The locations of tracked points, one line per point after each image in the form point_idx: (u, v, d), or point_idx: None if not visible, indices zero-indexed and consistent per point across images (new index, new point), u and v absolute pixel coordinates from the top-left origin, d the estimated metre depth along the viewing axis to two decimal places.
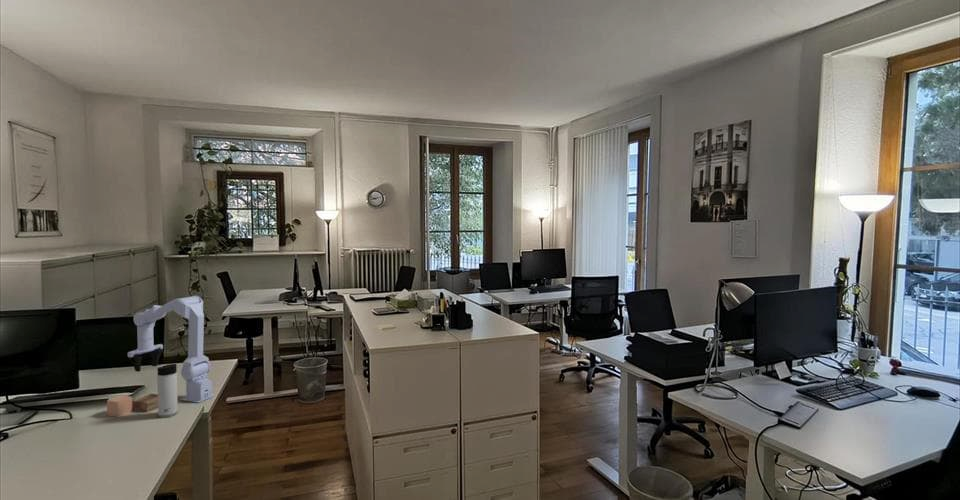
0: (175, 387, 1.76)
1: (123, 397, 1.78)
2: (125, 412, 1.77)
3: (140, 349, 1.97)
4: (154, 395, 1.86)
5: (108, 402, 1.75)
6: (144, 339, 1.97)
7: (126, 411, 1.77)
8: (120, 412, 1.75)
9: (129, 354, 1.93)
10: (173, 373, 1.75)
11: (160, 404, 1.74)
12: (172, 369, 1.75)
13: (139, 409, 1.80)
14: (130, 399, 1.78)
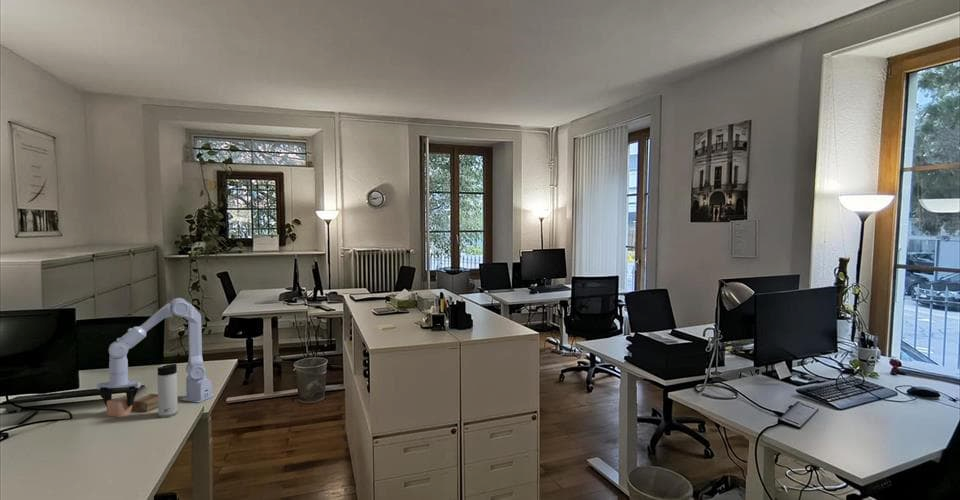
0: (175, 387, 1.76)
1: (123, 397, 1.78)
2: (125, 412, 1.77)
3: None
4: (154, 395, 1.86)
5: (108, 403, 1.75)
6: (125, 371, 1.76)
7: (126, 411, 1.77)
8: (120, 412, 1.75)
9: None
10: (173, 373, 1.75)
11: (160, 404, 1.74)
12: (172, 369, 1.75)
13: (139, 409, 1.80)
14: None
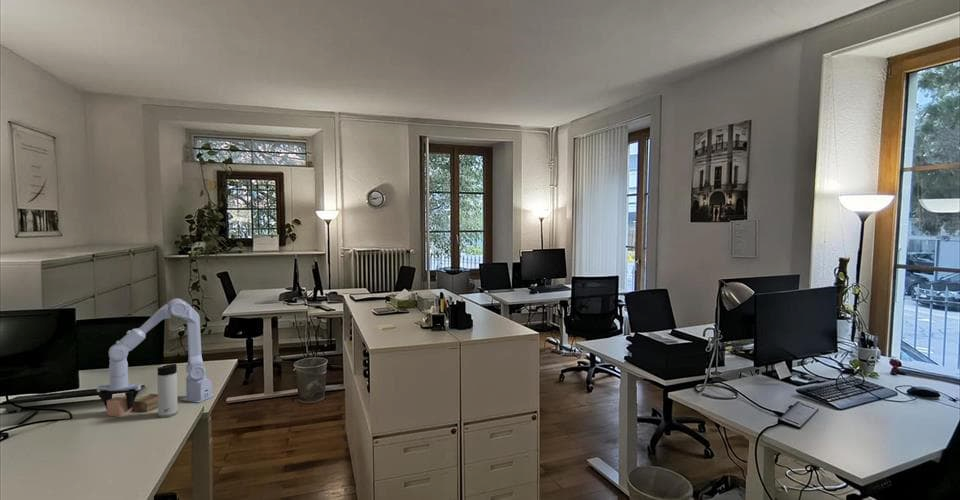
0: (175, 387, 1.76)
1: (123, 396, 1.78)
2: (125, 412, 1.77)
3: None
4: (154, 395, 1.86)
5: (108, 402, 1.75)
6: (125, 374, 1.76)
7: (126, 411, 1.77)
8: (121, 412, 1.75)
9: None
10: (173, 373, 1.75)
11: (160, 404, 1.74)
12: (172, 369, 1.75)
13: (139, 409, 1.80)
14: None
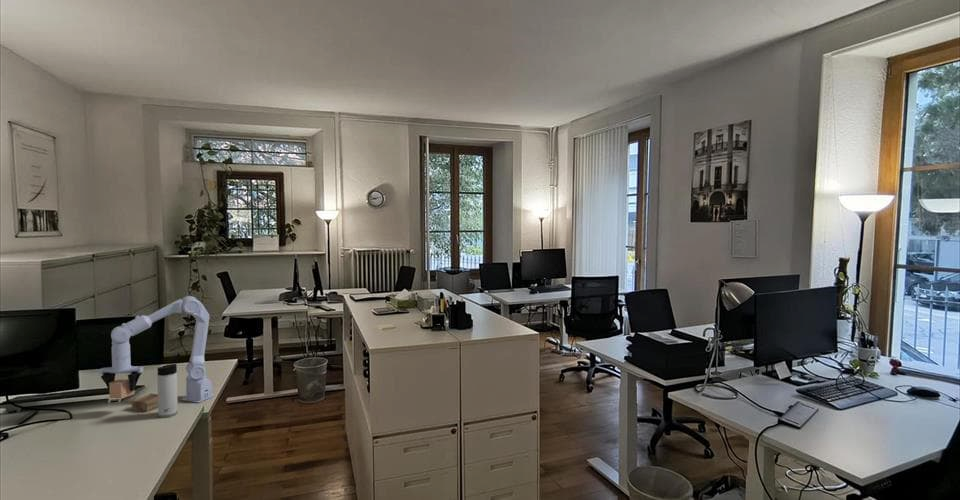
0: (175, 387, 1.76)
1: (125, 379, 1.79)
2: (128, 394, 1.77)
3: None
4: (154, 395, 1.86)
5: (110, 384, 1.75)
6: (127, 356, 1.76)
7: (129, 393, 1.77)
8: (123, 394, 1.75)
9: None
10: (173, 373, 1.75)
11: (160, 404, 1.74)
12: (172, 369, 1.75)
13: (139, 409, 1.80)
14: None
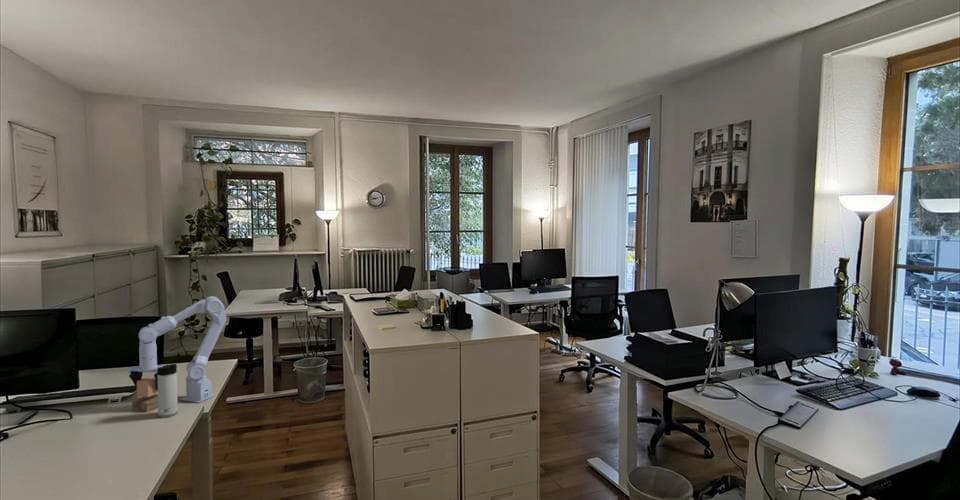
0: (175, 387, 1.76)
1: (152, 378, 1.85)
2: (154, 392, 1.83)
3: None
4: (154, 395, 1.86)
5: (138, 383, 1.81)
6: (154, 356, 1.82)
7: (155, 391, 1.83)
8: (150, 392, 1.81)
9: None
10: (173, 373, 1.75)
11: (160, 404, 1.74)
12: (172, 369, 1.75)
13: (139, 409, 1.80)
14: None
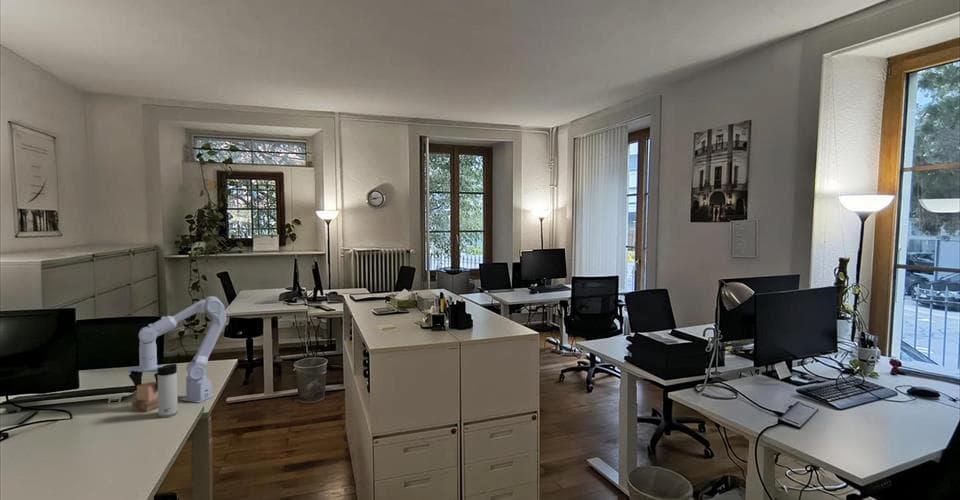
0: (175, 387, 1.76)
1: (152, 382, 1.85)
2: (155, 397, 1.83)
3: None
4: None
5: (138, 387, 1.81)
6: (154, 356, 1.82)
7: (155, 396, 1.83)
8: (150, 397, 1.81)
9: None
10: (173, 373, 1.75)
11: (160, 404, 1.74)
12: (172, 369, 1.75)
13: (139, 409, 1.80)
14: None
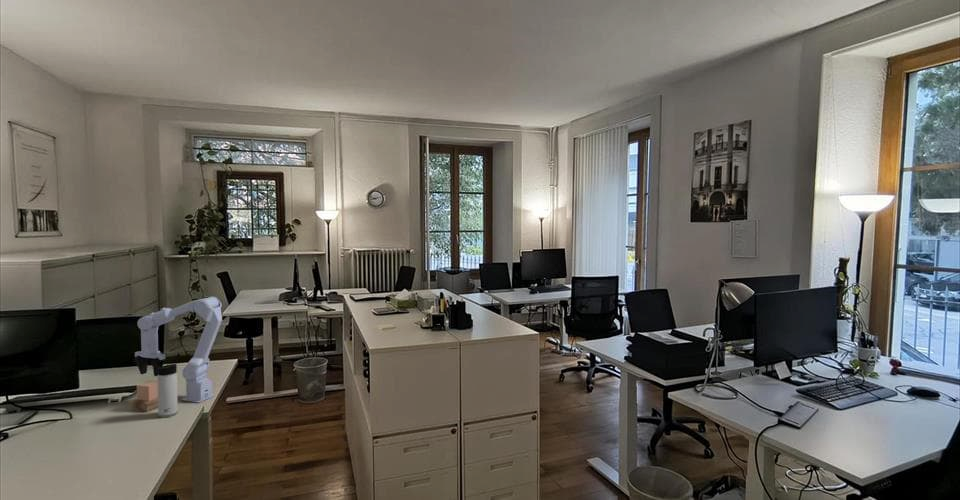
0: (175, 387, 1.76)
1: (152, 382, 1.85)
2: (155, 396, 1.83)
3: None
4: None
5: (138, 387, 1.81)
6: (151, 343, 1.89)
7: (156, 395, 1.84)
8: (151, 396, 1.81)
9: None
10: (173, 373, 1.75)
11: (160, 404, 1.74)
12: (172, 369, 1.75)
13: (139, 409, 1.80)
14: None
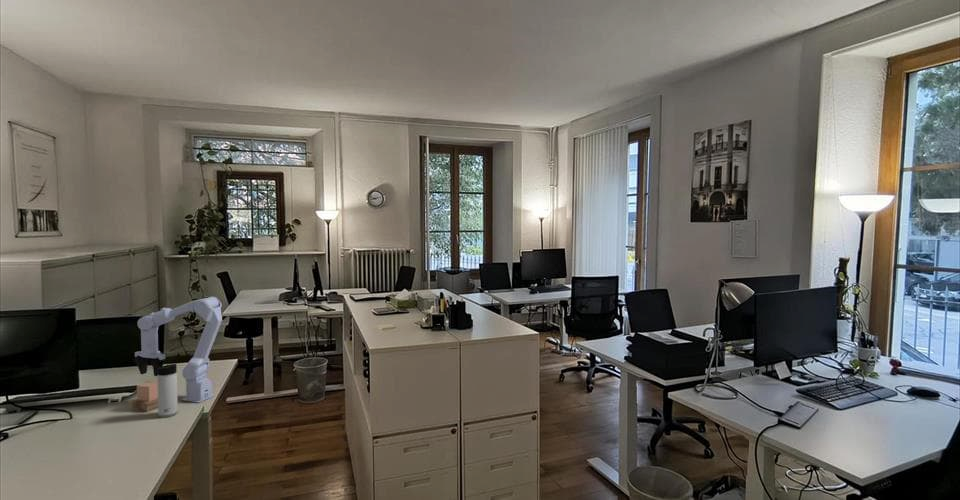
0: (175, 387, 1.76)
1: (152, 382, 1.85)
2: (155, 396, 1.83)
3: None
4: None
5: (138, 387, 1.81)
6: (151, 343, 1.89)
7: (156, 395, 1.84)
8: (151, 396, 1.81)
9: None
10: (173, 373, 1.75)
11: (160, 404, 1.74)
12: (172, 369, 1.75)
13: (139, 409, 1.80)
14: None
